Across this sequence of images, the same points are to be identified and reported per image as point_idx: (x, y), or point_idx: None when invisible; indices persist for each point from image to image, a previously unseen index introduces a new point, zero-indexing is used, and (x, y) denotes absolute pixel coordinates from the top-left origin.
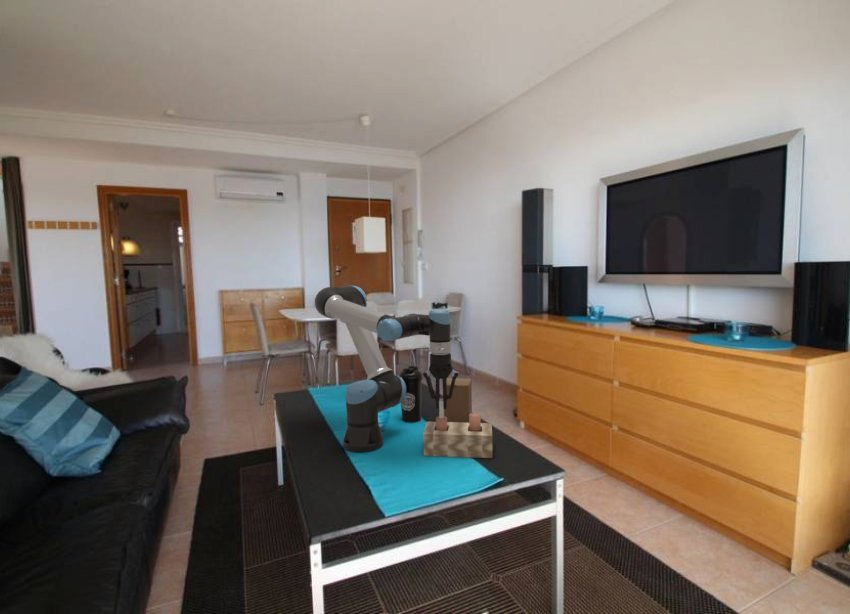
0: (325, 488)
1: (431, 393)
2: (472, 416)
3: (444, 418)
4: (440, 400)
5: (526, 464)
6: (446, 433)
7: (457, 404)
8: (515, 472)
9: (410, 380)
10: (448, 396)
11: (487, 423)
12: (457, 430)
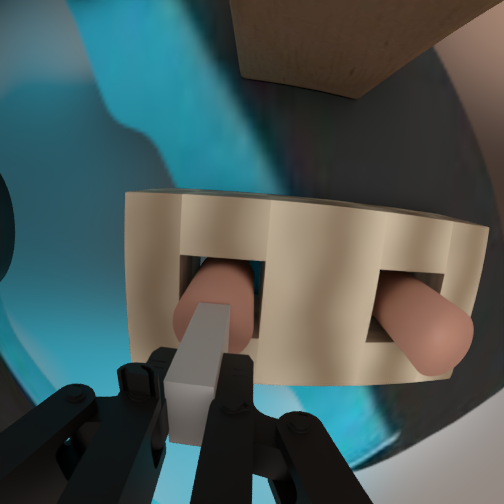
0: None
1: (68, 474)
2: (422, 373)
3: (234, 338)
4: (182, 437)
5: (478, 360)
6: None
7: (339, 27)
8: (436, 405)
9: None
10: (273, 483)
11: (474, 230)
12: (312, 335)
